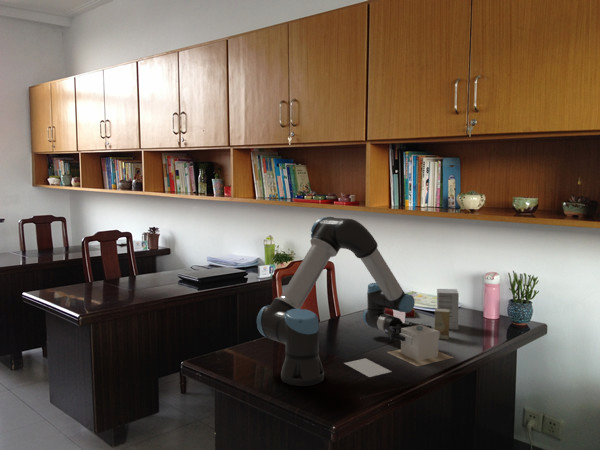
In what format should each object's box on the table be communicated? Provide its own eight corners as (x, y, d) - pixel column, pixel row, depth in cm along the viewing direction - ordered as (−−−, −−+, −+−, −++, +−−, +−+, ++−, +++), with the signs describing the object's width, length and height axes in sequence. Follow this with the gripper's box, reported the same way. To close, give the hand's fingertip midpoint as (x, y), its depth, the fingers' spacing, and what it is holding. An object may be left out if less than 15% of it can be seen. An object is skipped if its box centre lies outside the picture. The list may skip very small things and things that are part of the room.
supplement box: (458, 330, 243) (459, 293, 241) (437, 329, 245) (437, 292, 243) (456, 324, 252) (457, 288, 251) (436, 323, 254) (436, 288, 252)
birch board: (417, 367, 197) (417, 366, 197) (386, 353, 213) (386, 352, 213) (453, 359, 206) (453, 357, 206) (421, 346, 221) (421, 344, 221)
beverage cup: (401, 330, 243) (401, 300, 242) (389, 328, 247) (390, 298, 246) (408, 327, 248) (408, 297, 246) (396, 325, 252) (397, 295, 250)
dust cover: (418, 360, 202) (418, 331, 201) (400, 353, 211) (401, 325, 210) (438, 356, 207) (438, 327, 206) (420, 348, 216) (420, 321, 215)
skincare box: (433, 338, 231) (434, 310, 230) (433, 335, 235) (434, 308, 234) (449, 339, 229) (449, 311, 228) (449, 336, 233) (449, 309, 232)
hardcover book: (415, 318, 265) (415, 309, 264) (372, 318, 266) (372, 309, 265) (411, 311, 277) (411, 303, 276) (370, 312, 277) (370, 304, 277)
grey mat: (369, 378, 188) (369, 377, 188) (343, 364, 202) (343, 363, 202) (405, 369, 195) (405, 368, 195) (378, 356, 209) (378, 355, 209)
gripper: (413, 329, 230) (449, 342, 212) (365, 338, 218) (399, 353, 200) (413, 311, 230) (449, 323, 211) (365, 320, 218) (400, 333, 199)
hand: (425, 338), depth 206 cm, fingers open, 13 cm apart
